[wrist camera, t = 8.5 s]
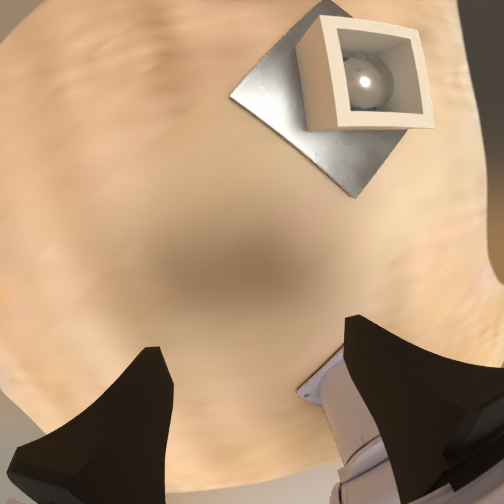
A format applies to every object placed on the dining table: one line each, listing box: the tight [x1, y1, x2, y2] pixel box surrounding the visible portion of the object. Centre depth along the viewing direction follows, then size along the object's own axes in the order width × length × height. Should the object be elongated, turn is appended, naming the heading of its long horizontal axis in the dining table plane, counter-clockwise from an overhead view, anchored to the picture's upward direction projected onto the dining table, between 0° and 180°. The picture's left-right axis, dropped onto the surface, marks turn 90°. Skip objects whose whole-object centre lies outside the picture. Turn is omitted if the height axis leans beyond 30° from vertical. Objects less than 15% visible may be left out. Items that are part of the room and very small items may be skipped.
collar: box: [295, 15, 435, 132], centre depth 13 cm, size 6×6×5 cm
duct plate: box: [230, 0, 408, 199], centre depth 14 cm, size 10×10×4 cm
